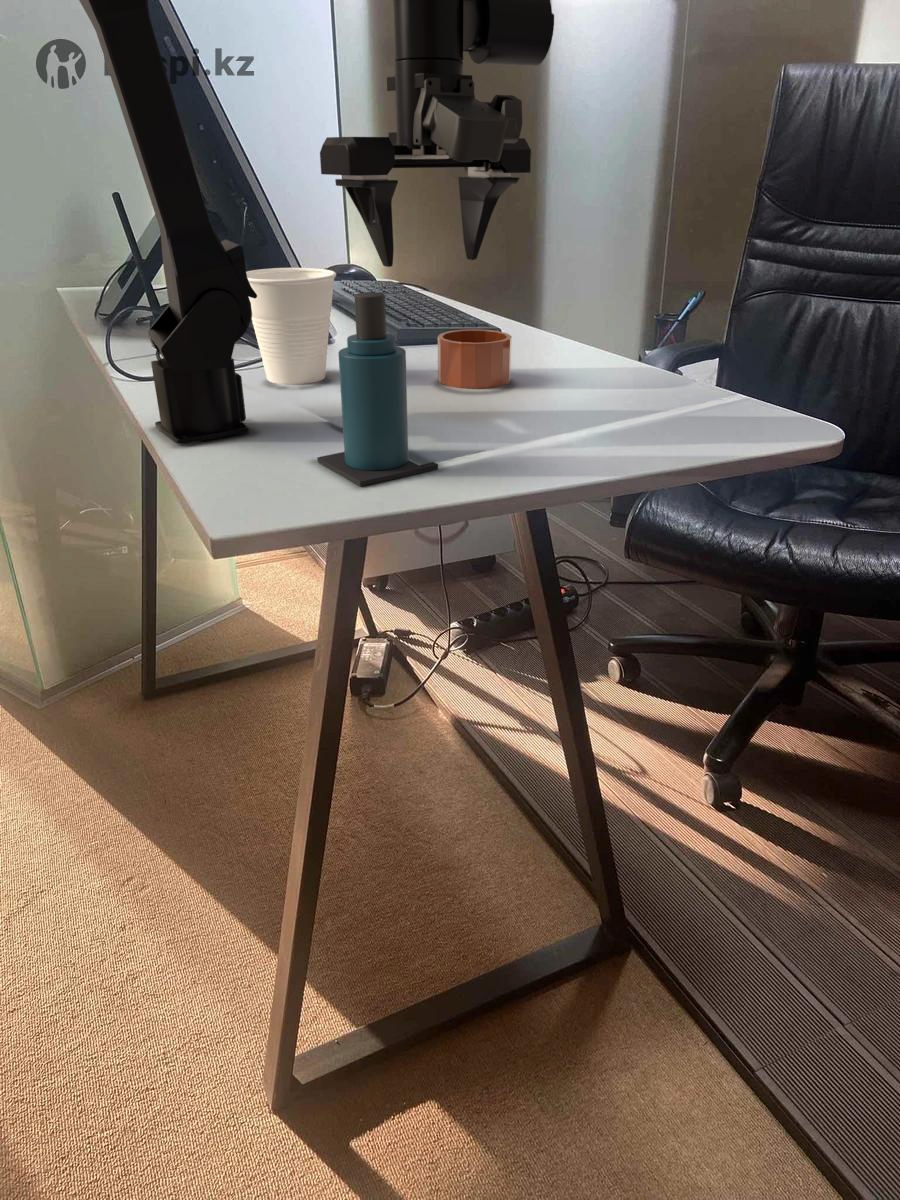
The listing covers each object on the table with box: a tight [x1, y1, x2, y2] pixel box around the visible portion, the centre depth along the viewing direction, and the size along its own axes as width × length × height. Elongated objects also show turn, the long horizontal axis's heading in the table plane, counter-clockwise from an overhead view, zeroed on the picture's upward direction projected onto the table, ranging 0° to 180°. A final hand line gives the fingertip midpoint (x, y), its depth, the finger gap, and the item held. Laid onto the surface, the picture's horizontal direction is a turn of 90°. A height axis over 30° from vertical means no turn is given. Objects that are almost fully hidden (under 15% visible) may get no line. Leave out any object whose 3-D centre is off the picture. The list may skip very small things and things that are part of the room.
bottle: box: [337, 291, 409, 471], centre depth 65 cm, size 5×5×12 cm
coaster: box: [316, 451, 439, 487], centre depth 68 cm, size 7×7×1 cm
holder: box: [437, 328, 513, 390], centre depth 90 cm, size 8×8×5 cm
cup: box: [246, 267, 337, 385], centre depth 90 cm, size 10×10×11 cm
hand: (430, 262), depth 78 cm, fingers open, 9 cm apart
